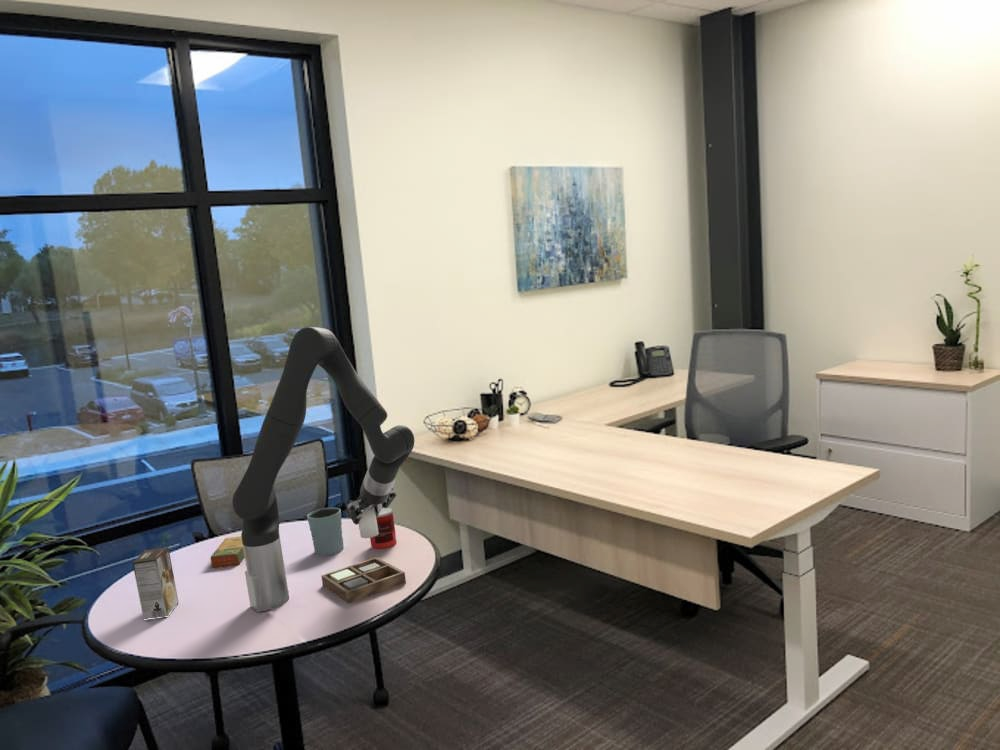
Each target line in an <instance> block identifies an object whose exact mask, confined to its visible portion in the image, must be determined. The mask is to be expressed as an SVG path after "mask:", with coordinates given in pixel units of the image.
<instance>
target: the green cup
mask: <svg viewBox="0 0 1000 750" xmlns="http://www.w3.org/2000/svg"><path fill="white" fill-rule="evenodd" d="M341 510H342V509H341V508H338V507H324V508H323V507H322V508H318V509H315V510H313V511H311V512H309V513H308V514H307V515H306V518H307V522H308V525H309V530H310V532H311V533H310V534H311V538H312V543H313V544H312V545H313V550H314V553H315V555H317V556H321V557H325V556H324V555H328V556H331V554H333V555H336V554H338V552H339V553H341V552H342V551H343V550H344V537H343V527H342V526H343V525H342V524H343V523H342V511H341ZM341 550H342V551H341ZM335 553H336V554H335Z"/></svg>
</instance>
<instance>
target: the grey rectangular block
mask: <svg viewBox="0 0 1000 750" xmlns="http://www.w3.org/2000/svg"><path fill="white" fill-rule="evenodd" d="M380 567H381V566H380V565H378V564H376V563H373V564H370V565H367V566H364V567H361V568H358V569H359V571H361V572H362V573H365V572H368V571H371V570H374V569H377V568H380Z"/></svg>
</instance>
